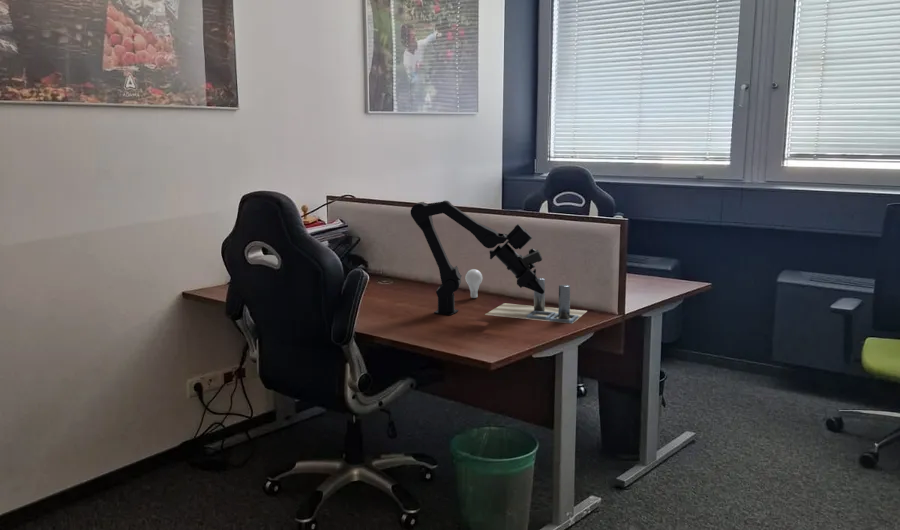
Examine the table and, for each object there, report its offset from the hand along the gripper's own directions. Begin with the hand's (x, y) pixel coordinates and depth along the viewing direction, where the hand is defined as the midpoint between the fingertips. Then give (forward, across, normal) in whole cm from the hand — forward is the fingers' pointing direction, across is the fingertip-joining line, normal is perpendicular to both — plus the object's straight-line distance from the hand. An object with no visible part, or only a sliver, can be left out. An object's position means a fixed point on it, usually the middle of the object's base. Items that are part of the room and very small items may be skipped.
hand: (543, 291), depth 252 cm
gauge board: (+4, -3, +7) cm, 9 cm away
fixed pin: (+9, -11, 0) cm, 14 cm away
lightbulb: (-12, +23, +24) cm, 35 cm away
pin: (+4, 0, +6) cm, 7 cm away
